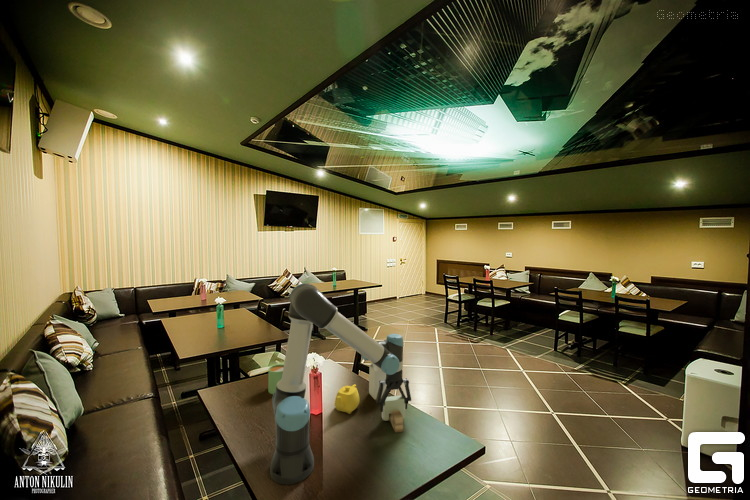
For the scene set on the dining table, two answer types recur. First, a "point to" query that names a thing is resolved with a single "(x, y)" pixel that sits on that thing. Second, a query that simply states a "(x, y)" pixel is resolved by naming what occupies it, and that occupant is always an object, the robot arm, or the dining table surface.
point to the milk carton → (375, 380)
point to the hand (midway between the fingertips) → (393, 416)
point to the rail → (396, 421)
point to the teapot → (347, 399)
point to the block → (393, 405)
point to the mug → (274, 377)
